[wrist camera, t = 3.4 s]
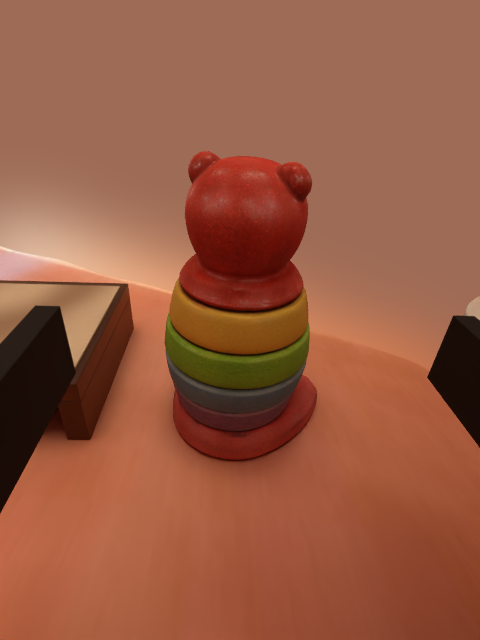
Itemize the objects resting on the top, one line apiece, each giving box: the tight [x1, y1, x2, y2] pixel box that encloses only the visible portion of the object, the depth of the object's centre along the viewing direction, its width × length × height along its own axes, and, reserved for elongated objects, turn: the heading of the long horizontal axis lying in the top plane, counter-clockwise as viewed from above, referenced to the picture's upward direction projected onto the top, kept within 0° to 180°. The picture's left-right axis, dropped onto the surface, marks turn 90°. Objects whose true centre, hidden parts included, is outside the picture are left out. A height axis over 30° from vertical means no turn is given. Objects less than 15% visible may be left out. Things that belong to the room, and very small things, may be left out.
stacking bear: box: [165, 151, 317, 459], centre depth 23 cm, size 11×10×18 cm
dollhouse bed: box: [0, 280, 133, 440], centre depth 27 cm, size 16×14×10 cm
